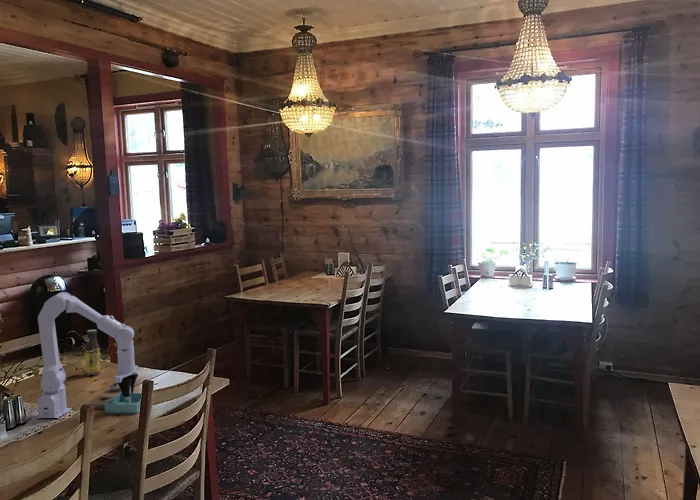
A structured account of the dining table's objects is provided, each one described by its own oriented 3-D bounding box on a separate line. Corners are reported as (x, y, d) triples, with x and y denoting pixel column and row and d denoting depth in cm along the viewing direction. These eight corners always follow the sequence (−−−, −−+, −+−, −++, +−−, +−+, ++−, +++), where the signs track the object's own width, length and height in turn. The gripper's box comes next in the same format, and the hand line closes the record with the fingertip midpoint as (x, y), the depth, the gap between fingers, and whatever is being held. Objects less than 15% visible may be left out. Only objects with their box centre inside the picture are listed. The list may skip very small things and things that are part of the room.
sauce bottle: (90, 377, 248) (88, 332, 246) (82, 375, 251) (79, 331, 249) (104, 373, 253) (101, 329, 251) (95, 371, 256) (93, 328, 255)
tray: (136, 413, 206) (136, 404, 205) (104, 413, 206) (104, 404, 206) (150, 401, 217) (150, 393, 217) (120, 401, 218) (120, 392, 218)
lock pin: (129, 403, 210) (128, 384, 210) (123, 403, 211) (122, 384, 210) (132, 401, 213) (131, 382, 212) (126, 400, 213) (125, 382, 212)
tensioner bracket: (107, 409, 210) (106, 396, 210) (86, 408, 211) (86, 395, 211) (129, 392, 228) (129, 380, 228) (110, 392, 229) (109, 380, 228)
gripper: (127, 365, 203) (129, 402, 204) (145, 354, 217) (146, 388, 218) (108, 365, 203) (110, 402, 205) (127, 354, 218) (128, 388, 219)
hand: (127, 395), depth 212 cm, fingers closed on lock pin, 2 cm apart
